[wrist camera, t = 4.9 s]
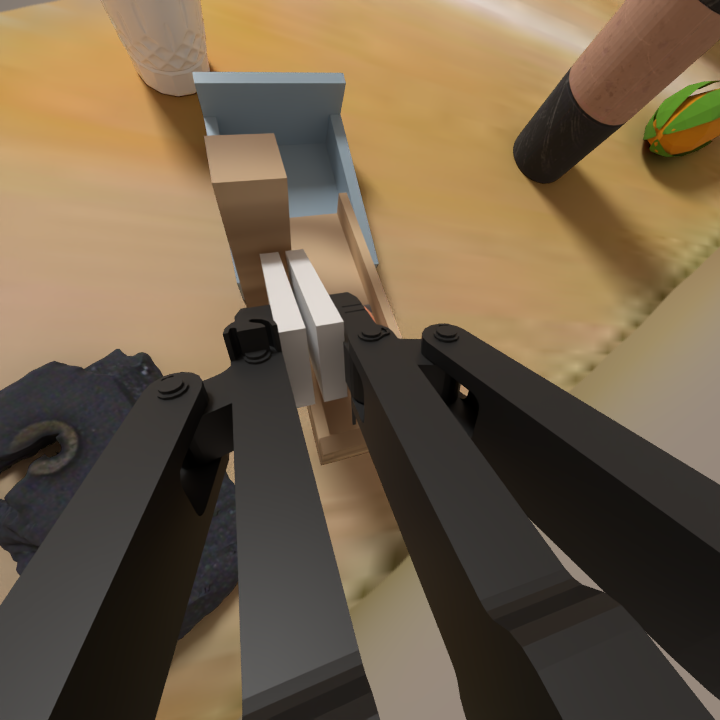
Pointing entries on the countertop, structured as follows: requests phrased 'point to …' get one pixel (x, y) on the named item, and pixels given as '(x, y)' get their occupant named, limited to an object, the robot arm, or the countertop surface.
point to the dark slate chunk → (91, 462)
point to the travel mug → (615, 80)
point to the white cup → (162, 41)
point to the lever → (281, 233)
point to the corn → (685, 122)
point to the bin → (290, 133)
